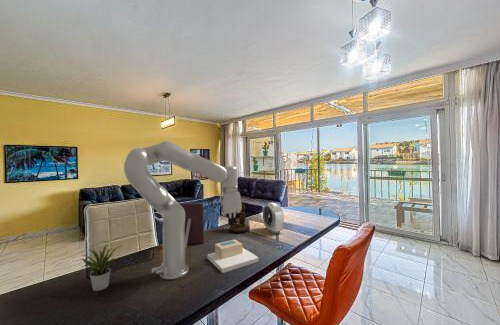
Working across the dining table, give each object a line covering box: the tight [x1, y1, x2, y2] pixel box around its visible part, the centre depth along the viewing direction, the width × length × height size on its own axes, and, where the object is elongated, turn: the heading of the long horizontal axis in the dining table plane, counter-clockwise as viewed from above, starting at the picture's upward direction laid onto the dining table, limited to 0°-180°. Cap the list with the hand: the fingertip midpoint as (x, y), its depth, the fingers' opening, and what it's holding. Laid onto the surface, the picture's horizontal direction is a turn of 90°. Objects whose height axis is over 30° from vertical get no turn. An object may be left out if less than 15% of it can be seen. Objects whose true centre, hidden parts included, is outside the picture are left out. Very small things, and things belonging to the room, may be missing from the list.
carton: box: [214, 239, 244, 259], centre depth 115 cm, size 12×8×5 cm, turn 123°
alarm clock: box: [262, 202, 285, 235], centre depth 157 cm, size 18×8×20 cm, turn 25°
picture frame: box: [178, 202, 205, 250], centre depth 131 cm, size 17×10×25 cm, turn 84°
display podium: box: [207, 247, 260, 274], centre depth 112 cm, size 20×18×2 cm
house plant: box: [81, 244, 122, 292], centre depth 90 cm, size 14×14×16 cm
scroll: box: [229, 203, 251, 234], centre depth 159 cm, size 15×15×20 cm
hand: (231, 225), depth 113 cm, fingers closed
